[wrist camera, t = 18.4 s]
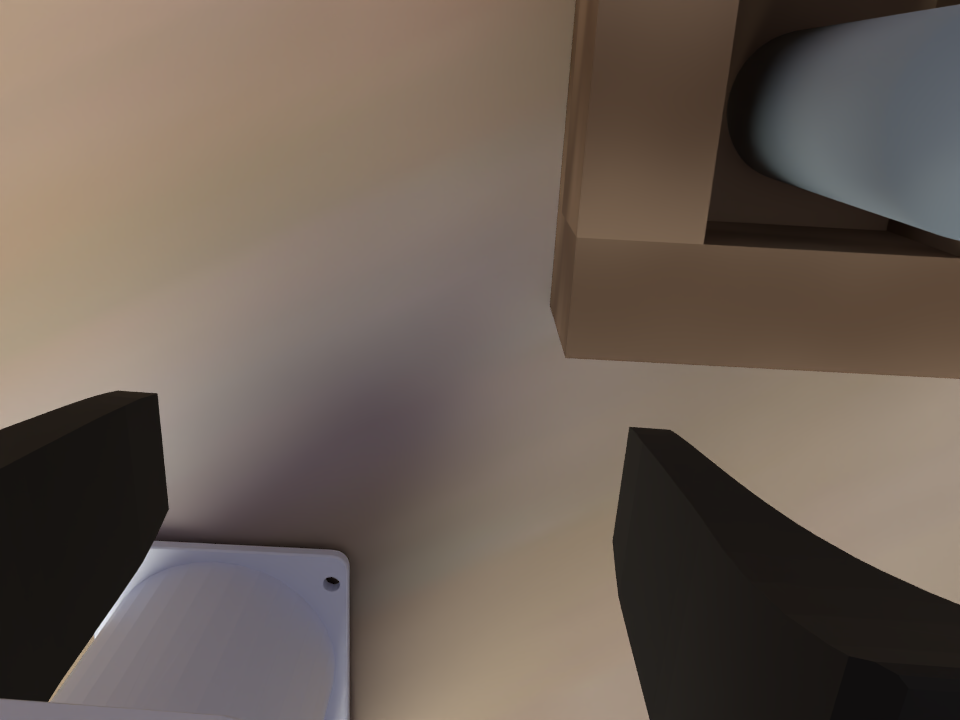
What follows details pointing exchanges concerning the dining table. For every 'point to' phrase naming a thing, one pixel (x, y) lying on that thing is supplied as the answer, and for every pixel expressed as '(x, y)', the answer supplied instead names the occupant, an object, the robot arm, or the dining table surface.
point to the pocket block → (725, 212)
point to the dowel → (860, 115)
